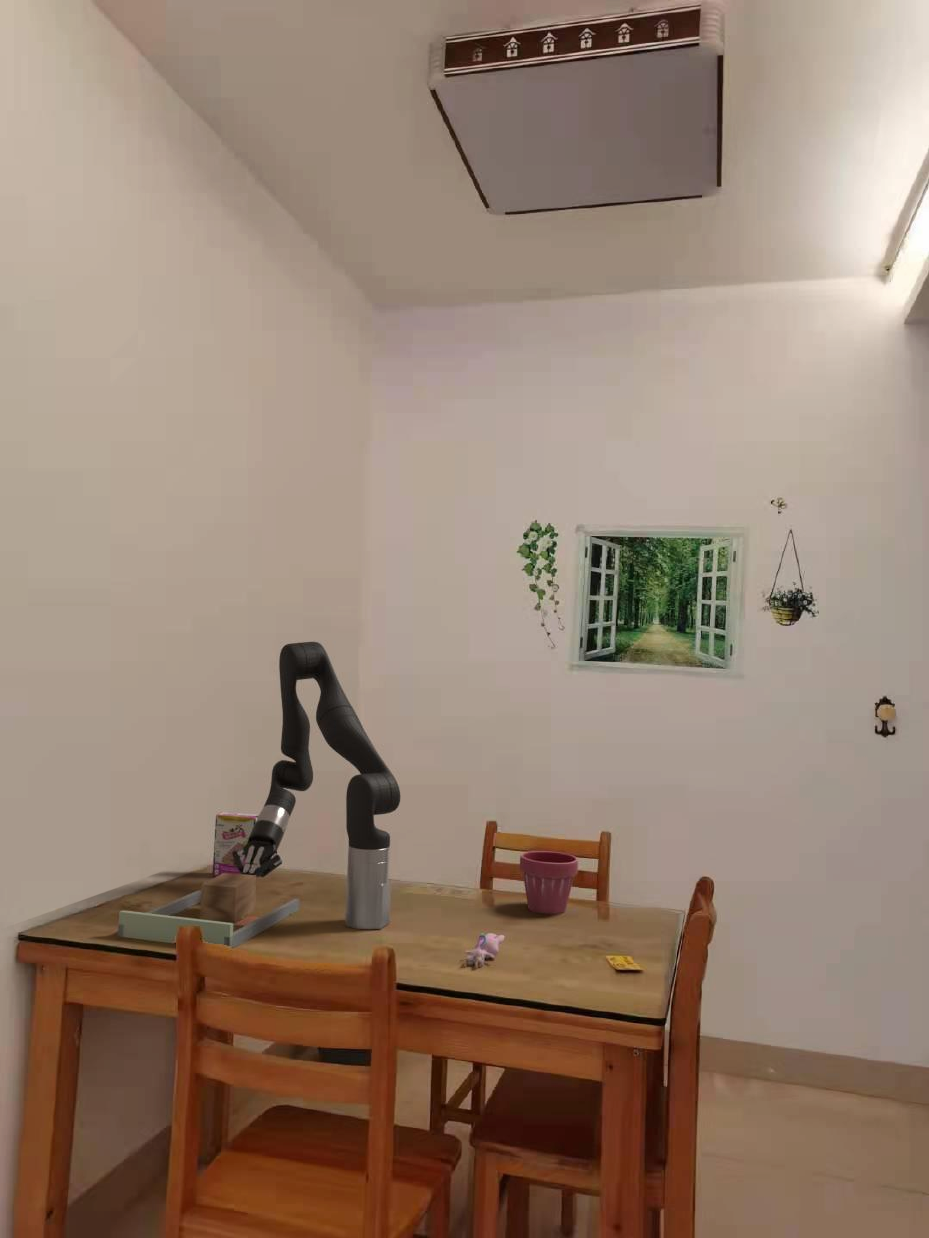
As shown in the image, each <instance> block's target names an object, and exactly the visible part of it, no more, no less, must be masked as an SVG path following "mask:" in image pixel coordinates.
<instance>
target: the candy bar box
mask: <svg viewBox="0 0 929 1238" xmlns="http://www.w3.org/2000/svg"><path fill="white" fill-rule="evenodd" d="M258 816H259V814H255V813H243V812H242V813H240V812H226V811H222V812H218V813H217V814H215V825H214V826H215V827H214V829H215V830H214V843H213V844H214V845H213V860H212V861H213V862H212V877H217V876H219V875H221V874H223V873H230V874H240V873H239V871H238V869H237V866H236V863H235V861H234V858H233V855H232V852H233V851H237V852H239V851H241V850H243V847H244V846H245V845H246V844H247V843H248V839H249V836H250V834H251V832H252V829H253V827H254V825H255V823H256V820H257V818H258ZM245 861H246V858H245V855H244V856H243V860H242V861H241V862H242V864H243V867H245Z"/></svg>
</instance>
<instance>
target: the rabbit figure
mask: <svg viewBox="0 0 929 1238" xmlns="http://www.w3.org/2000/svg"><path fill="white" fill-rule="evenodd" d="M505 937H506V936H505V935H503V934H499V935H497V934H495V933H491V932H490V933H489V932H488V933H486V934H485V933H483V932H482V933H480V936H479V937H478V940H477V943H476V944H475V945H474V949H472V950H465V952H464V953H465V954H467V956H465V958H463V963H462V966H463V968H465V967H467V966H473V968H475V970H477V969H479V968H481V967H483V966H484V963H485V959H487V960H488V959H490V958H491V959H495V956H497V954H498V953H499V952H500V951H499V946H500V945H501V944H502V943H503V941H504V939H505Z"/></svg>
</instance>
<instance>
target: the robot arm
mask: <svg viewBox="0 0 929 1238" xmlns="http://www.w3.org/2000/svg"><path fill="white" fill-rule="evenodd" d="M278 663H279V664H278V668H279V682H280V683H279V685H280V686H279V687H280V698H281V709H282V712H281V713H282V727H281V740H280V752H281V753H282V754H283V755H284V756H286V757H288V758H290V759H291V760H293V761H291V760H285V759H283V760H282V759H280V760H279V761H277V762H276V763H275V764H274V765H273V767H272V770H271V779H270V788H269V793H268V796H267V798H266V801H265V803H264V805H263V807H262V809H261V811H260V812H259V814H258V815H259V816H258V818H257V820H256V823H255V825H254V827H253V829H252V832H251V834H250V836H249V839H248V843H247V844H246V845H245V846H244V847H243V850H241V851H239V852H237V851H233V852H232V855H233V858H234V861H235V863H236V866H237V869H238V871H239V873H240V874H243V875H256V879H257V878H259V877H261V878H264V877H266V876H267V875H269V874H270V873H271V872H272V871H275V869H276V868H278V867H280V866H281V865H282V864H283V861H282V858H281V856H280V855H279V854H278V849H279V848H280V847H279V846H280V845H281V843H282V840H283V838H284V834H285V833H286V831H287V827H288V826H289V821H290V817H291V815H292V813H293V810H294V807H295V806H296V801H297V800H296V796H295V795H294V794H293V793H292V792H291V791H289V790H293V791H297V792H306V791H308V790H309V788H310V787H311V786H312V784H313V781H314V771H313V770H314V769H313V764H312V761H311V756H310V749H309V747H310V735H311V724H310V720H309V719H310V718H309V716H308V714H307V712H306V711H305V708H304V707H303V705H302V703H301V701H300V699H299V697H298V694H297V682H298V681H300V680H301V681H302V680H311V679H312V680H315V681H316V682H317V684H318V687H319V689H320V695H319V700H318V703H317V706H316V713H315V721H316V724H317V727H318V729H319V730H320V733H321V734H322V736H323V738H324V741H325V742H326V744H327V745H328V746H329V747H330V748H331V749H332V750H333V751H335V752H336V753H337V754H338V755H340V756H341V757H342V758H343V759H345V760H346V761H348V763H350V765H352V766H353V767H355V769H356V770H357V771H358V772H359V774H356V775H354V776H352V777H351V779H350V780H349V782H348V783H347V784H348V785H347V787H346V794H345V795H346V797H345V806H346V807H345V808H346V810H345V812H346V816H345V817H346V825H345V826H346V828H345V829H346V834H347V837H348V847H347V867H346V868H347V873H346V892H345V895H346V896H345V913H344V916H345V919H344V923H345V925H346V927H349V928H352V929H357V930H358V929H359V930H374V929H376V930H382V929H383V928H384V927H385V926H387V925H388V924H389V923H390V922H391V920H390V919H391V914H390V913H391V897H392V880H391V879H390V878H389V875H390V874H389V873H390V853H391V851H390V849H391V835H390V833H388V832H387V831H385V830H382V829H379V828H378V827H377V826H376V825H375V819H374V817H375V816H378V815H385V814H390V813H393V812H395V811H396V810H397V809H398V808H399V806H400V803H401V792H400V791H401V790H400V786H399V784H398V781H397V779H396V778H395V776H394V774H393V773H392V771H391V770H390V768H389V767H388V765H387V764H386V763H385V761H384V760H383V759H382V757H381V756H380V754H379V752H378V751H377V750H376V748H375V746H374V745H373V743H372V741H371V740H370V738H369V736H368V734H367V732H366V731H365V729H364V727H363V724H362V723H361V721H360V718H359V717H358V714H357V713H356V711H355V709H354V707H353V706H352V705H351V703H350V700H349V699H348V697H347V696H346V693H345V692H344V690H343V688H342V687H343V686H342V685H341V684H340V681H339V680H338V676H337V675H336V672H335V669H334V667H333V665H332V662H331V660H330V657H329V654H328V653H327V650H326V649H325V647H324V646H323V645H322V643H320V642H317V641H305V642H292V643H287V644H285V645H283V646H282V648H281V650H280V653H279V661H278ZM244 855H245V858H246V861H245V867H243V864H242V862H241V861H242V860H243V856H244Z"/></svg>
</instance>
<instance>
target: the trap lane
mask: <svg viewBox="0 0 929 1238" xmlns="http://www.w3.org/2000/svg"><path fill="white" fill-rule="evenodd" d="M198 904H201V889H199V890H196V891H193V892H191V893H188V894H186V895H185V896H182V897H179V898H177V899H175V900H173V901H170V902H167V903H166V904H164V905H161V906H158V907H156V908H153V909H151V910H149V911H146V912H142V911H140V912H139V911H131V910H120V911H119V913H118V926H117V928H118V929H117V937H119V938H127V939H134V940H135V939H136V940H143V941H152V942H158V943H160V942H161V943H167V944H174V941H175V936H176V933H177V930H178V927H179V926H200V927H201V929H202V932H203V940H204V941H205V942H208V943H213V944H223V945H227V946H231V947H233V948H232V949H234V948H236V947H237V946H239V945H241V944H243V943H245V942H246V941H248V940H249V939H251V938H253V937H255V936H257V935H259V934H260V933H262V932H263V931H266V930H267V929H269V928H270V926H271V927H272V926H274V925H276V924H278V923H279V922H281V921H283V920H284V918H285V917H286V918H288V917H290V916H291V915H293V914H295V913H297V912H298V911H300V899H299V898H293V899H292V900H290V901H288V902H286V903H285V904H283V905H281V906H279V907H277V908H275V909H273V910H271V911H269V912H268V913H266V914H264V915H262V916H259V917H258V916H252V915H251V916H250V915H248V916H246V917H244V918H243V919H241V920H240V921H238V922H237V923H235V924H233V923H227V922H218V921H210V920H201V919H200V918H199V919H198V918H192V917H183V916H174V915H176V914H178V913H180V912H183V911H184V909H185V910H187V909H189V908H191V907H193V906H195V905H196V906H197V905H198ZM186 908H187V909H186ZM296 911H297V912H296ZM294 912H295V913H294ZM172 914H174V915H172ZM290 914H291V915H290ZM170 915H171V916H170ZM289 915H290V916H289ZM287 916H288V917H287ZM286 918H285V919H286ZM280 920H281V921H280ZM278 921H279V922H278ZM277 922H278V923H277ZM241 926H244V927H241ZM234 927H240V928H238V929H237V930H234Z"/></svg>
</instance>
